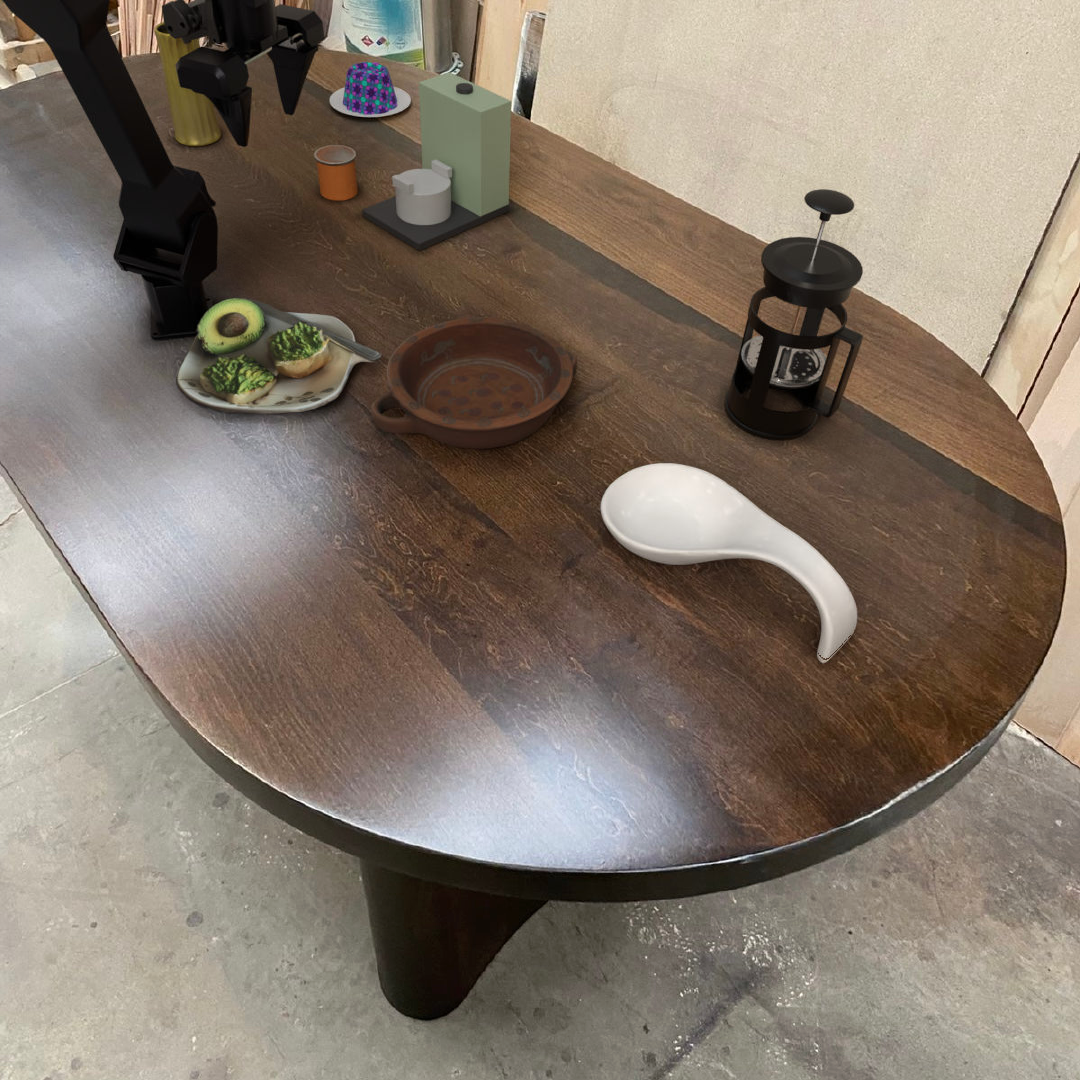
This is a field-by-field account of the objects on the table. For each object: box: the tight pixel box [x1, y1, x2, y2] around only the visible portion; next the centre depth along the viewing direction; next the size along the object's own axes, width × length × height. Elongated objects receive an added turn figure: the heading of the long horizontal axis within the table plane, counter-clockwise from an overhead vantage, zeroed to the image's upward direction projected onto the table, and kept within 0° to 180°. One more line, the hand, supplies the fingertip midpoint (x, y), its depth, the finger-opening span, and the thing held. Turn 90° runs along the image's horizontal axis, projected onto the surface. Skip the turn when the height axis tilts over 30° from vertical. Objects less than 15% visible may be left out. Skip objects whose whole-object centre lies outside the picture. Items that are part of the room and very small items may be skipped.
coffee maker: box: [361, 72, 512, 252], centre depth 117 cm, size 15×11×15 cm
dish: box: [370, 316, 578, 450], centre depth 94 cm, size 18×22×5 cm
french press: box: [723, 188, 864, 441], centre depth 89 cm, size 12×9×23 cm
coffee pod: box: [313, 144, 359, 201], centre depth 123 cm, size 5×5×5 cm
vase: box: [153, 21, 222, 147], centre depth 129 cm, size 6×6×14 cm
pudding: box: [328, 61, 412, 118], centre depth 142 cm, size 12×12×5 cm
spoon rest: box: [600, 462, 858, 664], centre depth 80 cm, size 24×12×7 cm, turn 48°
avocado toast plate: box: [175, 297, 382, 415], centre depth 97 cm, size 19×18×5 cm
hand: (266, 129), depth 107 cm, fingers open, 9 cm apart
